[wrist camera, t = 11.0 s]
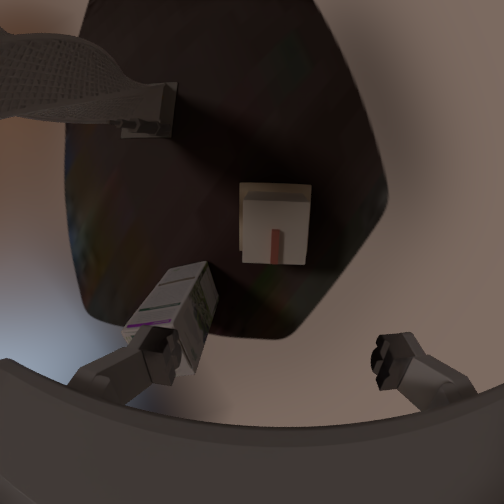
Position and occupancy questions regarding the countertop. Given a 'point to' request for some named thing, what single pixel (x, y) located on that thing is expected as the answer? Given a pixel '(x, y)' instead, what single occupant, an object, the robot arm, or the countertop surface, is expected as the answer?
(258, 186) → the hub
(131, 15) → the countertop surface
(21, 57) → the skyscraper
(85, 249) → the countertop surface
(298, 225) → the knob
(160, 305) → the syrup box
